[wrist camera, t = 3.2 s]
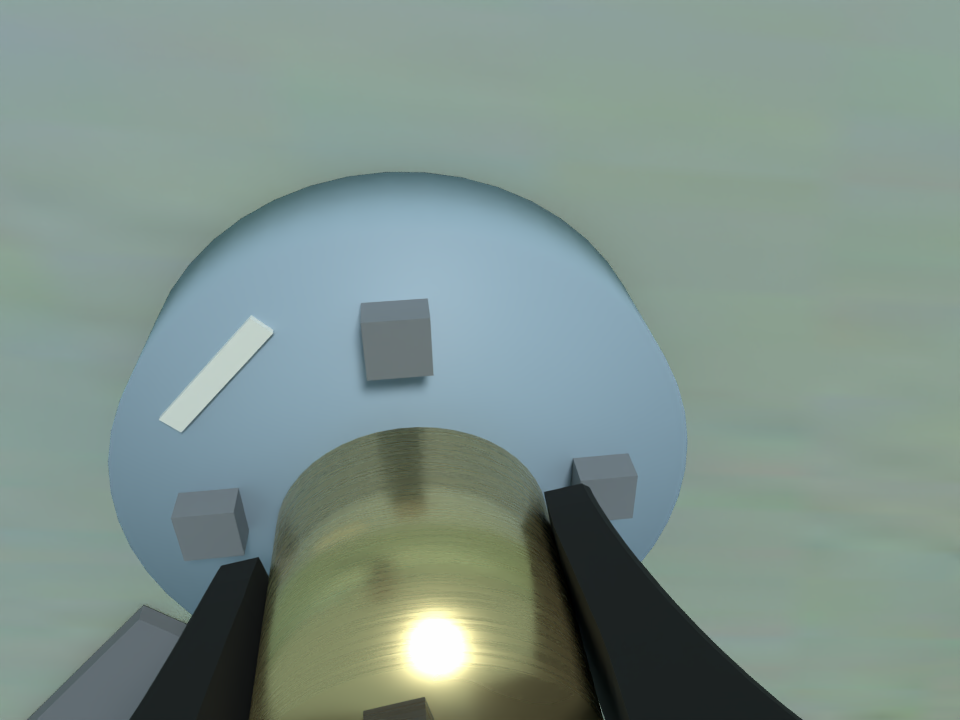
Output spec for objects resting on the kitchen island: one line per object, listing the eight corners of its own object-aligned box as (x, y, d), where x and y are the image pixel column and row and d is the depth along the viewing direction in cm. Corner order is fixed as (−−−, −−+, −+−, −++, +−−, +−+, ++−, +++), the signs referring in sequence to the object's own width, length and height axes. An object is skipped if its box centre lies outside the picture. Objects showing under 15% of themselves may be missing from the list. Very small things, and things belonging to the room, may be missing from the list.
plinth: (740, 383, 17) (808, 481, 14) (424, 635, 20) (432, 752, 17) (374, 42, 12) (376, 93, 10) (42, 439, 15) (-24, 558, 13)
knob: (564, 591, 14) (635, 861, 10) (325, 646, 14) (307, 936, 11) (522, 397, 12) (594, 659, 8) (233, 465, 12) (167, 756, 8)
